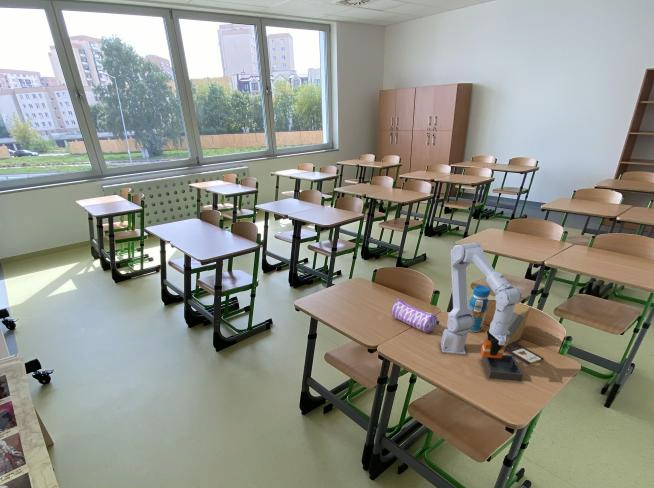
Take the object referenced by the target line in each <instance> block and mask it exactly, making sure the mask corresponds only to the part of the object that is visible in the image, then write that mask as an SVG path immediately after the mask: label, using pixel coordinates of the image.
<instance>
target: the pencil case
mask: <svg viewBox="0 0 654 488" xmlns="http://www.w3.org/2000/svg"><path fill="white" fill-rule="evenodd" d="M391 316H392V317H393V318H395V319H396V320H399V321H401V322H402V323H404V324H407V325H408V326H410V327H412V328H414V329H417V330H418V331H421V332H423V333H426V334H428V333H430V332H433V330H434V329H435V328H436V326H439V325H440V320H438V317H437V314H434V313H432V312H428V311H424V310H421V309H419V308H416V307H414V306H411V305H410V304H407V303H406V302H405V301H403V300H402V299H401V298H400V297H399V298H396V301H395V302H394V304H393V305H392V308H391Z"/></svg>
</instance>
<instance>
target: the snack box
mask: <svg viewBox="0 0 654 488" xmlns="http://www.w3.org/2000/svg"><path fill="white" fill-rule="evenodd" d="M490 349H491V341H488V339H484V340H483V343H482V345H481V349H480V354H481V358H482V357H491V358H502V355H504V353H505V351H504V349H505V345H504V346H503V347H502V348H501V349H500V350H499V352H498V353H497V355H496V356H494V355H490Z"/></svg>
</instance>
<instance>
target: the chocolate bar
mask: <svg viewBox="0 0 654 488" xmlns="http://www.w3.org/2000/svg"><path fill="white" fill-rule="evenodd" d="M504 352H506V353H508V355H511V356H514V358H515V359H518V360H519V361H521V362H523V363H524V364H526V365H530V364H533V363H537V362H538V361H542V360H544V357H543V356H541V355H539V354H537V353H535V352H534V351H532V350H530V349H528V348H527V347H524V346H523V345H520V344H519V343H518V342H516V341H515V342H512V343H511V344H509V345H507V346H506V347H505V349H504Z"/></svg>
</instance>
